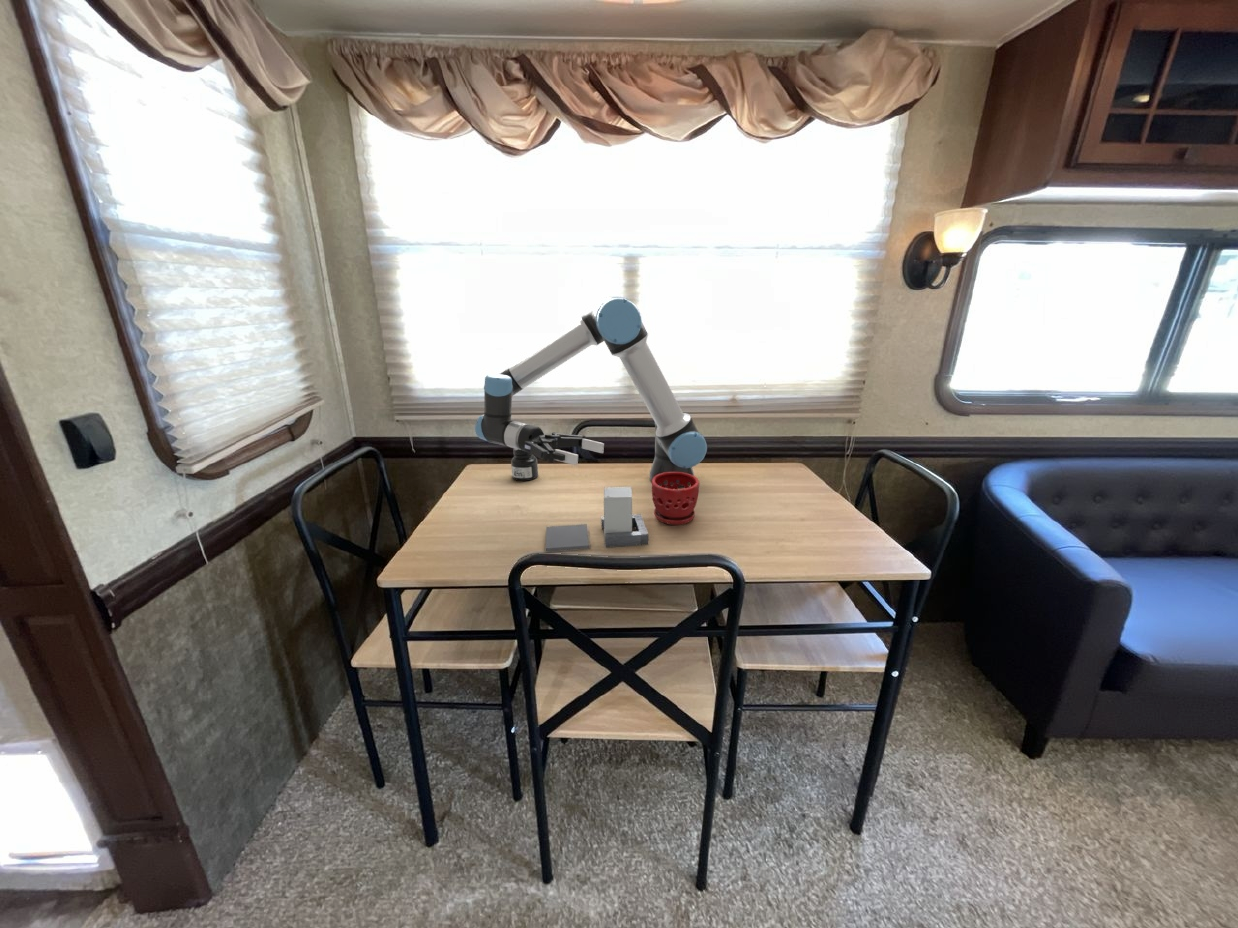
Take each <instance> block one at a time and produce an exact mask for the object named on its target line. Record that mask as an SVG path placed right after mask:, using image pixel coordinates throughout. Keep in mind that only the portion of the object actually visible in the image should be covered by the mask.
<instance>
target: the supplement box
mask: <svg viewBox="0 0 1238 928" xmlns="http://www.w3.org/2000/svg"><path fill="white" fill-rule="evenodd" d="M632 491H633V490H632V486H605V487H604V492H603V516H604V530H603V539H604V541H603V542H605V533H619V532H633V528H632V515H633V492H632Z"/></svg>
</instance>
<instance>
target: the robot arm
mask: <svg viewBox="0 0 1238 928" xmlns="http://www.w3.org/2000/svg"><path fill="white" fill-rule="evenodd" d="M641 315H642V314H641V313H640V309H639V308H638V307H637V305H636V304H635V303H634V302H632V301H631V299H628V298H625V297H622V296H609V297H605V298H603V299H602V300H600V301H599V302H597V303H596V304H595V305H594V306H592V308H591V309H589V310H588V311H587V312H585V313H584V314H583V315H582V316H580V317H579V318H578V322H577V323H576V324H574V325H572V326H571V327H569V328H567V329H566V330H565V331H563V332H561V333H559V335H557V336H556V337H554V338H552V339H551V340H549V341H548V342H546V343H545V344H543V345H542V346H540V347H538V348H537V349H536V350H534V351H532V352H531V353H529V354H528V355H526V356H525V357H523V358H521V359H520V360H519V361H517V362H516V363H514V364H513V365H511V366H510V367H508V368H506V369H505V370H503V371H502V372H501V373H497V374H496V373H493V374H488V375H486V376H485V377H484V386H483V390H484V391H483V392H484V397H483V398H484V400H483V401H484V403H483V404H484V409H483V414H481V415H480V416H479V417H478V418H477V420H476V424H475V425H474V432H475V434H476V436H477V438H478V439H480V440H483V441H486V442H488V443H491V444H495V445H496V444H497V445H500V446H504V447H507V448H511V449H513V448H514V449H515V450H518V449H519V450H522V451H526V452H529V453H532V454H533V455H534V456H535V457H536V458H537V459H540V460H541V461H542V462H547V461H548V463H554V461H557V462H561V463H565V464H568V465H573V466H578V465H579V463H578V462H579V454H577V453H573V452H570V451H566V450H561V449H560V448H561V447H570V448H571V447H572V448H576V447H577V448H581V449H583V450H587V451H591V452H595V453H599V454H604V448H605V443H603V442H600V441H596V440H591V439H587V436H586V435H585V434H583V435H578V434H569V433H568V434H567V433H559V432H551V433H544V431H543V430H542V428H541V427H540V426H536V425H533V424H528V423H524V422H521V421H515V420H512V405H513V396H515V395H516V394H518V393H520V392H521V391H522V390H524V389H525V388H527V387H528V386H530V385H531V384H533V383H534V382H536V381H537V380H539V379H540V378H542V377H544V376H545V375H547V374H548V373H550V372H551V371H553V370H555V369H557V368H558V367H560V366H561V365H563V364H564V363H565V362H567V361H569V360H570V359H571V358H573V357H575V356H577V355H579V353H582V352H583V351H585V350H586V349H588V348H589V347H590V346H592V345H593V346H599V345H600V344H601V343H605V345H606V346H607V348H608V350H609V352H610V354H611V356H613V357H617V358H619V359H620V361H621V363H622V365H623V366H624V369H625V370H626V372H627V374H628V375H629V377H630V379H631V381H632V383H633V384H634V386H635V389H636V390H637V392H638V393H639V396H640V398H641V400H642V401H643V403H644V405H645V407H646V409H647V410H648V412H649V414H650V415H651V418H652V420H653V421H654V426H655V427H654V429H655V430H654V433H655V434H654V459H653V462H652V465H651V469H650V470H649V481H650V482H651V483H652V479H653V478H654V477H655V476H656V475H658V474H661V473H665V472H684V473H688V474H691V475H693V476H695V473H694V469H693V467H695V466H697V465H699V464H700V463H701V462H702V461H703V460H704V458H705V456H706V453H708V452H707V451H708V445H707V442H706V439H705V437H704V436H703V434H701V433H700V432H699V430H698V428H697V426H696V424H695V423H694V421H693V419H692V416H691V414H689V413H685V412H683V410H682V408H681V407H680V405H679V402H678V400H677V399H676V397H675V395H674V393H673V392H672V389H671V388H670V385H669V384H668V381H667V380H666V377H665V375H664V374H663V372H662V370H661V367H660V366H659V365H658V363H657V361H656V358H655V357H654V354H653V353H652V351H651V349H650V347H649V344H648V343H647V339H648V336H649V333H648V332H647V329H646V327H645V325H644V323H643V322H642V321H643V320H642V316H641ZM676 482H677V483H679V480H676ZM666 484H667V481H664V485H666ZM658 485H659V486H661V484H658ZM670 485H673V483H670ZM688 485H689V486H690V485H691V484H690V483H689V482H688ZM681 487H684V486H683V485H679V486H678V488H681Z"/></svg>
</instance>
